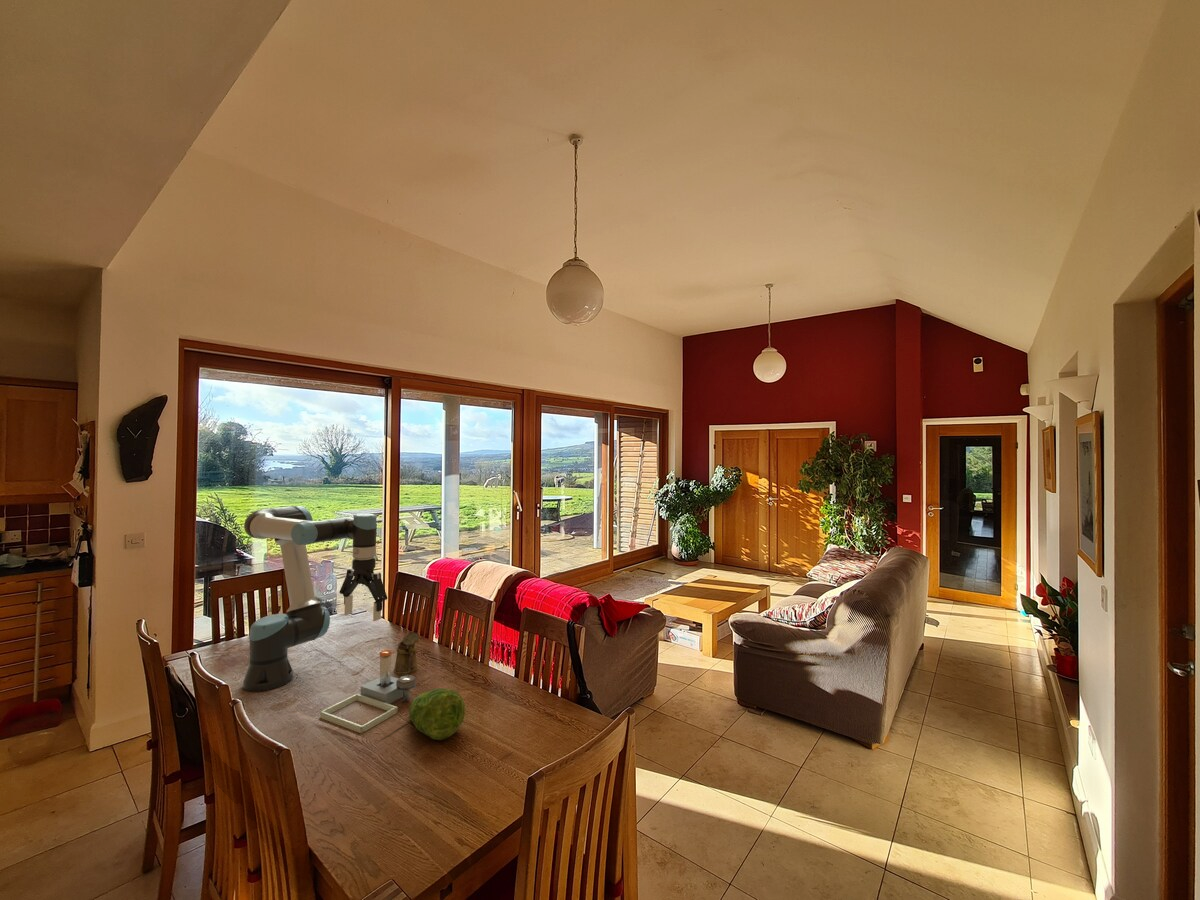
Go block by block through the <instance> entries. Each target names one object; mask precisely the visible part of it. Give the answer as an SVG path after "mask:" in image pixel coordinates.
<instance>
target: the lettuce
mask: <svg viewBox="0 0 1200 900" xmlns="http://www.w3.org/2000/svg"><path fill="white" fill-rule="evenodd" d="M408 713H409V714H408V715H409V719H410V721H412V723H413V725H414V726H415V728H416V729H417V731H419V732H421V734H424V735H426V736H427V737H429V738H431V739H432V740H437V741H443V740H445V739H449V738H450V737H452V736H453V735H454V734H455V733H456V732H457V731H458V730H459V729H460V726H461V725H462V724H463V721H464V717H465V715H466V714H465V713H466V703H465V701H464V698H463V696H462V695H461V694H459V692H457V691H456V690H454V689H450V688H449V689H448V688H442V687H441V688H435V689H431V690H428V691H425V692H422V693H420V694H419V695H418V696H417V697H415V698H414V699H413V701H412V702H411V703H410V705H409V710H408Z"/></svg>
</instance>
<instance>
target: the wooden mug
mask: <svg viewBox="0 0 1200 900" xmlns="http://www.w3.org/2000/svg"><path fill="white" fill-rule="evenodd" d="M419 639H420V634H419V632H413V631H412V632H410V633H409V634H407V635H406V636H404V637H403V640H402V641H399V643H398V645H397V647H396V658H395V663H394V668H393V673H394V674H396V675H400V676H401V675H402V676H406V675H411V674H413V673H415V672H417V671H418V670H419V664H418V660H417V650H418V649H417V645H416V643H417V642H418V641H419Z"/></svg>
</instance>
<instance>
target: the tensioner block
mask: <svg viewBox="0 0 1200 900" xmlns="http://www.w3.org/2000/svg"><path fill="white" fill-rule="evenodd" d="M398 679H399V678H398V677H394V676H392V675H391V685H389V686H387V687H385V688H383V687H380V676H379V677H378V678H375V679H373V680H372V681H369V682H366V683H365V684H362V685H360V695H363V696H366V697H369V698H372V699H375V700H378V701H381V702H384V703H387V704H390V705H392V703H393V704H394V702H397V700H399V699H402V698H403V690H399V689H397V688H396V681H397V680H398Z"/></svg>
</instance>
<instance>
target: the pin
mask: <svg viewBox="0 0 1200 900" xmlns="http://www.w3.org/2000/svg"><path fill="white" fill-rule="evenodd" d="M392 652H393V651H392V649H385V650H381V651H379V659H380V661H379V662H380V663H379V677H380V687H383V688H385V687H387V686H389V685H391V676H392V675H391V673H392Z"/></svg>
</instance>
